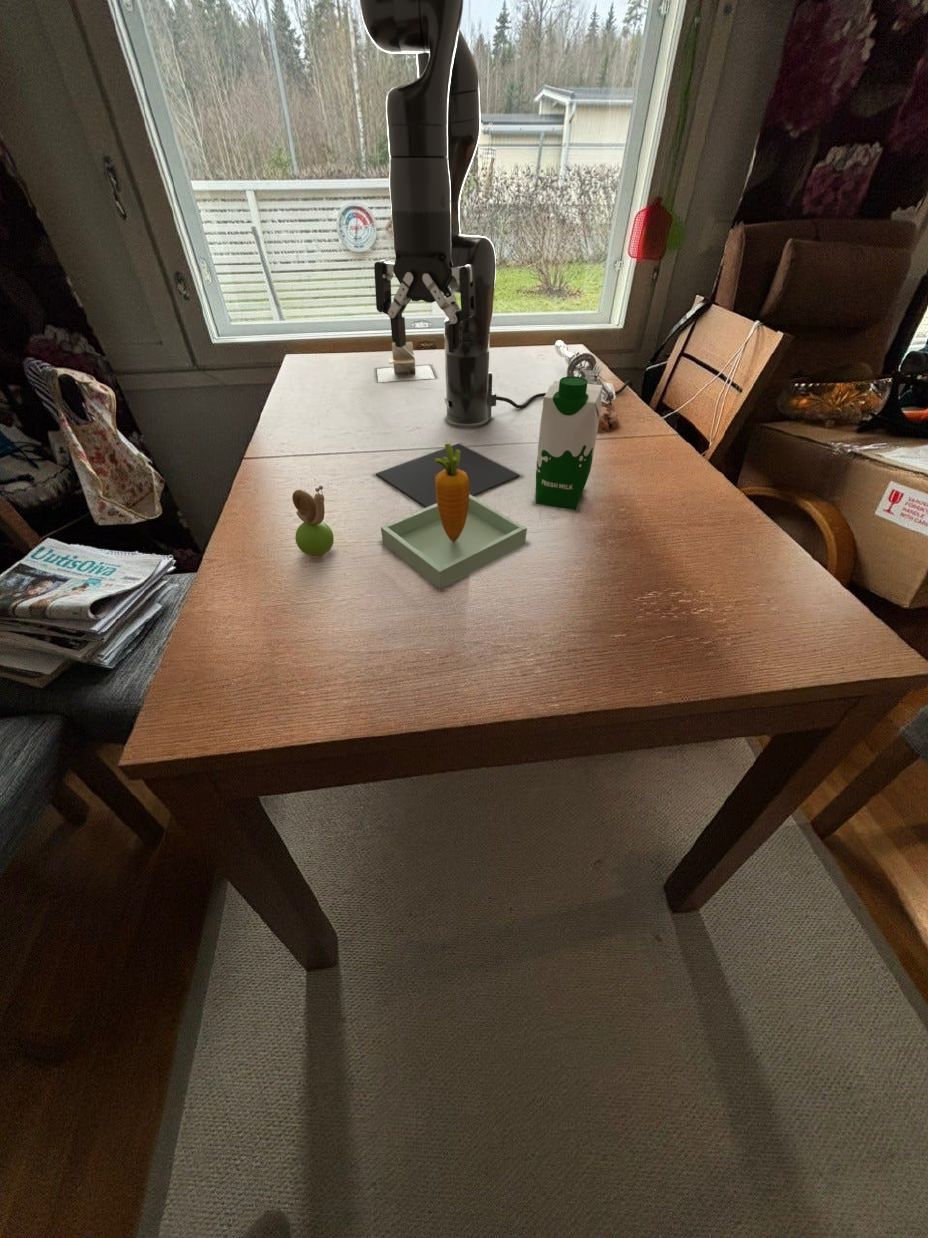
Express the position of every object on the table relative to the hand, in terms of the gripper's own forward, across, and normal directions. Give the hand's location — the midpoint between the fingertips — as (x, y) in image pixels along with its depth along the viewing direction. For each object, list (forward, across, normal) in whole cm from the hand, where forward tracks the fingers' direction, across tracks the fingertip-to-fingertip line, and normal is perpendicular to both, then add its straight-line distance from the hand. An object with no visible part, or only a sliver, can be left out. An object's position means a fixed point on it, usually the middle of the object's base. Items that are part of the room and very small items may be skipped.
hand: (426, 348), depth 74 cm
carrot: (+23, -10, +14) cm, 28 cm away
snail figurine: (+24, +8, +23) cm, 34 cm away
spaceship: (+22, -13, -63) cm, 68 cm away
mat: (+23, 0, -7) cm, 24 cm away
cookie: (+22, -21, -41) cm, 51 cm away
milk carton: (+23, -22, -6) cm, 32 cm away
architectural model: (+22, +34, -57) cm, 70 cm away
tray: (+24, -10, +14) cm, 29 cm away
